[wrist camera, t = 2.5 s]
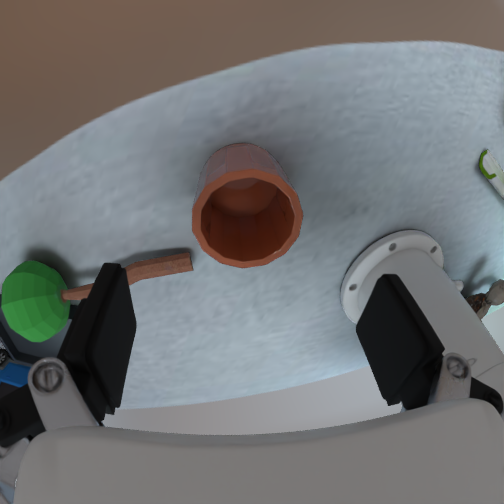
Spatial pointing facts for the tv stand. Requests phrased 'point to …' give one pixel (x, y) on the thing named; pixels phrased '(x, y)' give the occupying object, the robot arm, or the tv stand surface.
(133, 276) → the tree
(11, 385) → the toy car
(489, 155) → the leek
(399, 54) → the tv stand surface
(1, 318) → the tray
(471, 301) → the toy
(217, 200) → the terracotta pot
